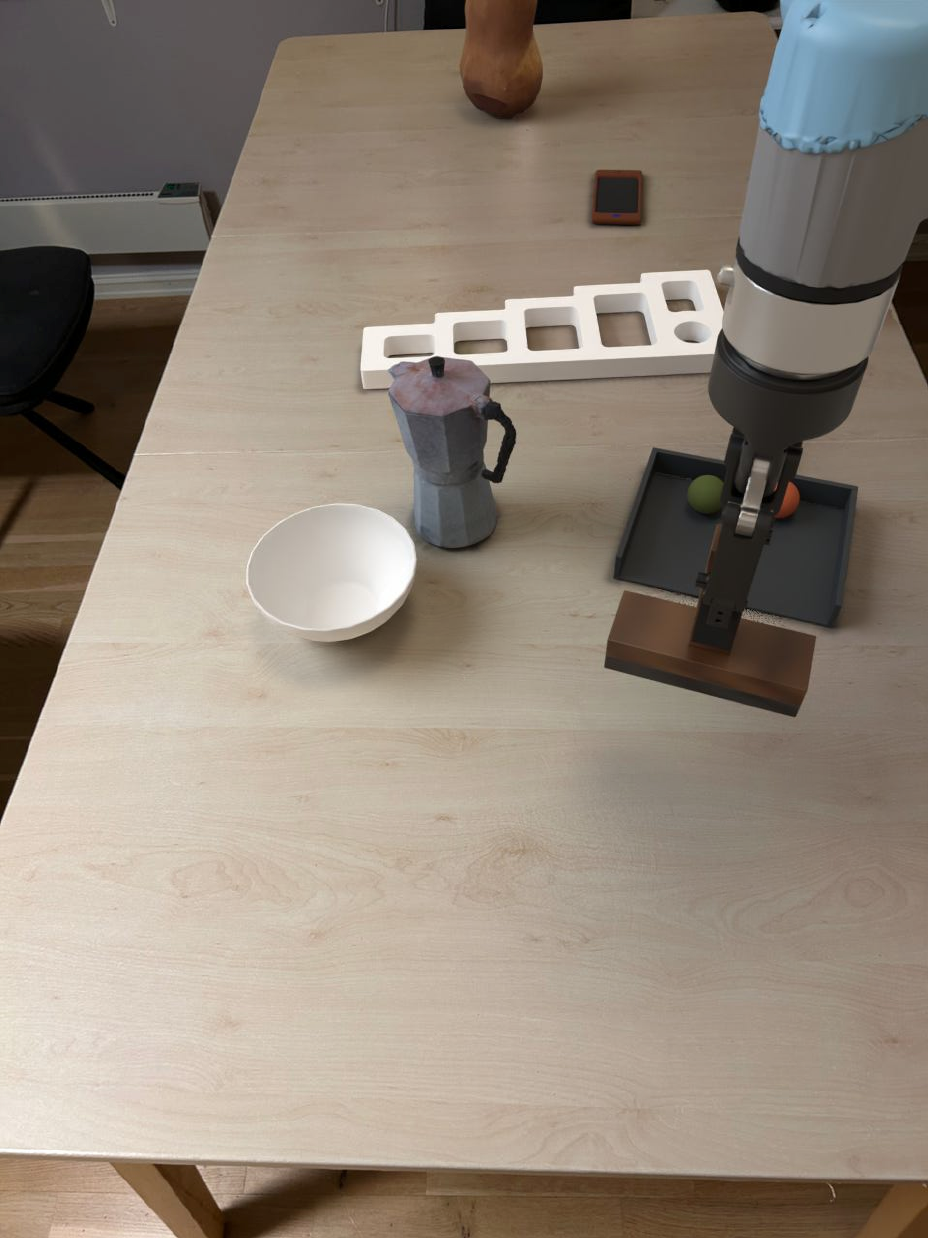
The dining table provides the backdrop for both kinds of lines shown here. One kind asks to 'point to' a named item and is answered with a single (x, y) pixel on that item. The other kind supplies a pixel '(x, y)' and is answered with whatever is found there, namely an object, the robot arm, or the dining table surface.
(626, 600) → the brush
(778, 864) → the dining table surface
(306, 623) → the bowl
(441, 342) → the holder
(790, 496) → the ball
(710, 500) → the ball
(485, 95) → the butternut squash
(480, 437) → the moka pot
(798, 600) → the dustpan
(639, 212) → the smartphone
